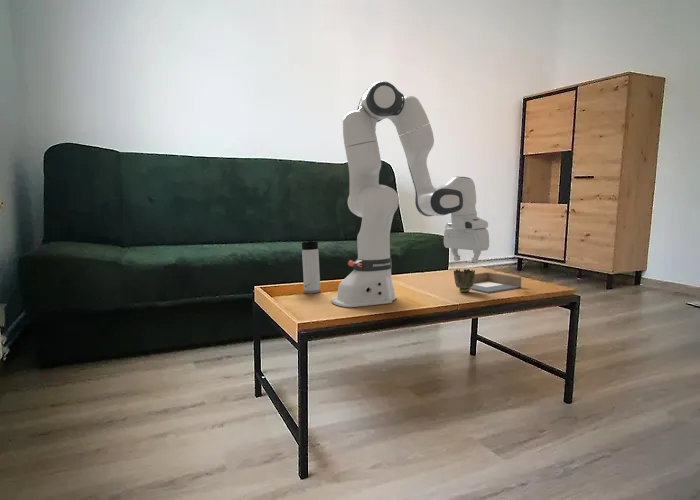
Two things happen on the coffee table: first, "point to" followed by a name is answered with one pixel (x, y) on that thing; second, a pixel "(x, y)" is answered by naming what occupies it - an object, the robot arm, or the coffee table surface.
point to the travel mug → (311, 267)
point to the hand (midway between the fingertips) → (465, 261)
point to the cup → (464, 279)
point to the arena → (495, 282)
